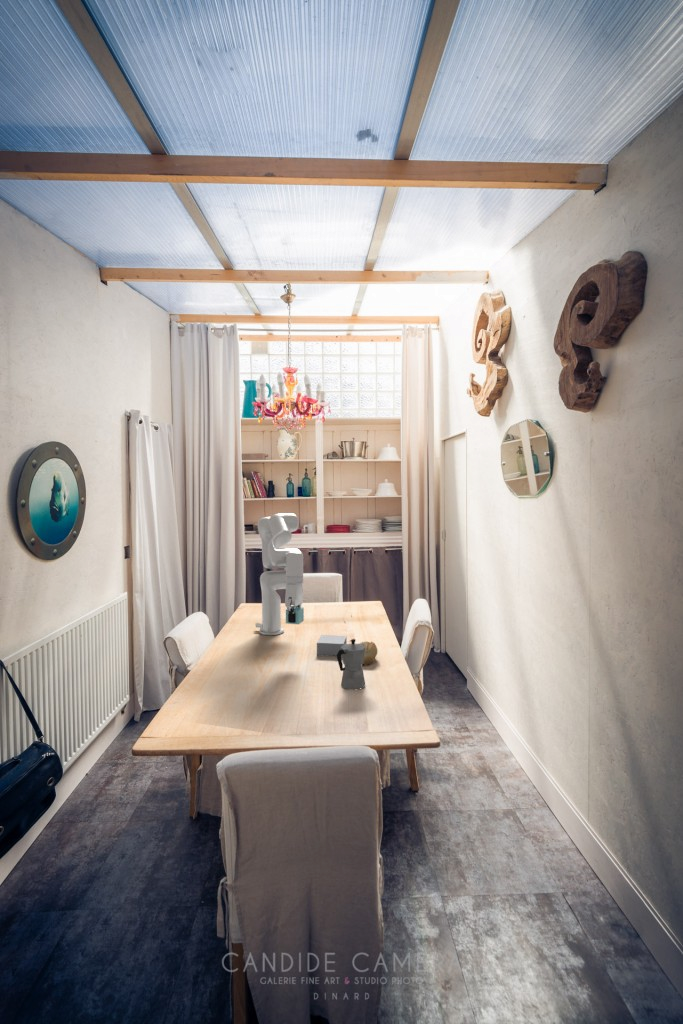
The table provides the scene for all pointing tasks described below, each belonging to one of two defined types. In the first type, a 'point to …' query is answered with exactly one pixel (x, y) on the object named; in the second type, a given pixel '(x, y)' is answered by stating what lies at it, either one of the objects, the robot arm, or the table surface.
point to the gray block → (330, 644)
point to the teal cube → (297, 615)
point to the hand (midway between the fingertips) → (294, 620)
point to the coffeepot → (352, 665)
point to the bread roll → (369, 652)
